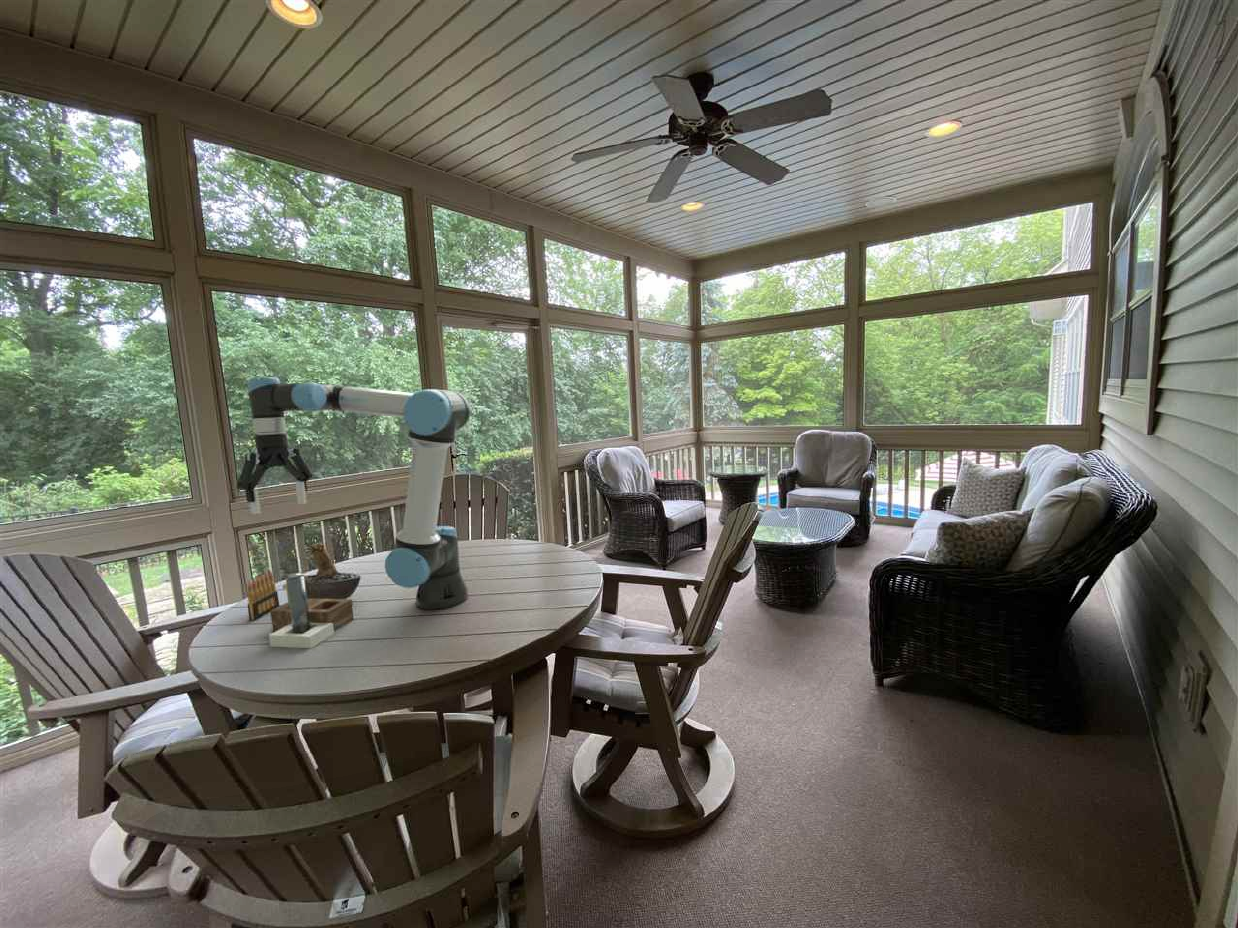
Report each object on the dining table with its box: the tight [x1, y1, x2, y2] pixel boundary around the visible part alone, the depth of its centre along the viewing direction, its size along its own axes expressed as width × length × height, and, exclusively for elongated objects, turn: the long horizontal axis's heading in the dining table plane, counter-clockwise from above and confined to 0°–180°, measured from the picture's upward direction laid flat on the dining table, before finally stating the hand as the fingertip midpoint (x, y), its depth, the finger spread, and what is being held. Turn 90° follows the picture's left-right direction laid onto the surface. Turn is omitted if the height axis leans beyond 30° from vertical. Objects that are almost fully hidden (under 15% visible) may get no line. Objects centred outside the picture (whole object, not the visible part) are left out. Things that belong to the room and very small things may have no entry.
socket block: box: [269, 598, 355, 633], centre depth 142 cm, size 18×9×6 cm, turn 80°
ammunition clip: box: [247, 569, 280, 622], centre depth 153 cm, size 11×2×12 cm, turn 0°
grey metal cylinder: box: [285, 572, 311, 634], centre depth 132 cm, size 4×4×17 cm
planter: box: [304, 541, 362, 599], centre depth 157 cm, size 15×17×20 cm
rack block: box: [268, 622, 335, 649], centre depth 133 cm, size 12×8×3 cm, turn 80°
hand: (280, 508), depth 144 cm, fingers open, 13 cm apart
